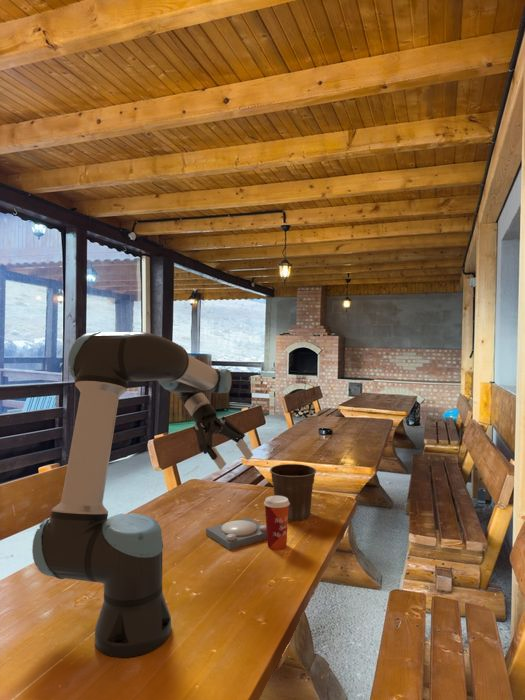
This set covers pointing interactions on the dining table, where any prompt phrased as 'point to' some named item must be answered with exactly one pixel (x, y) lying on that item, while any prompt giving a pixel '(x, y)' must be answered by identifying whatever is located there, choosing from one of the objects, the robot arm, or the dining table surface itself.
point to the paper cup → (276, 521)
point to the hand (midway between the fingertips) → (237, 462)
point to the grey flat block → (237, 533)
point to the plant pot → (294, 488)
